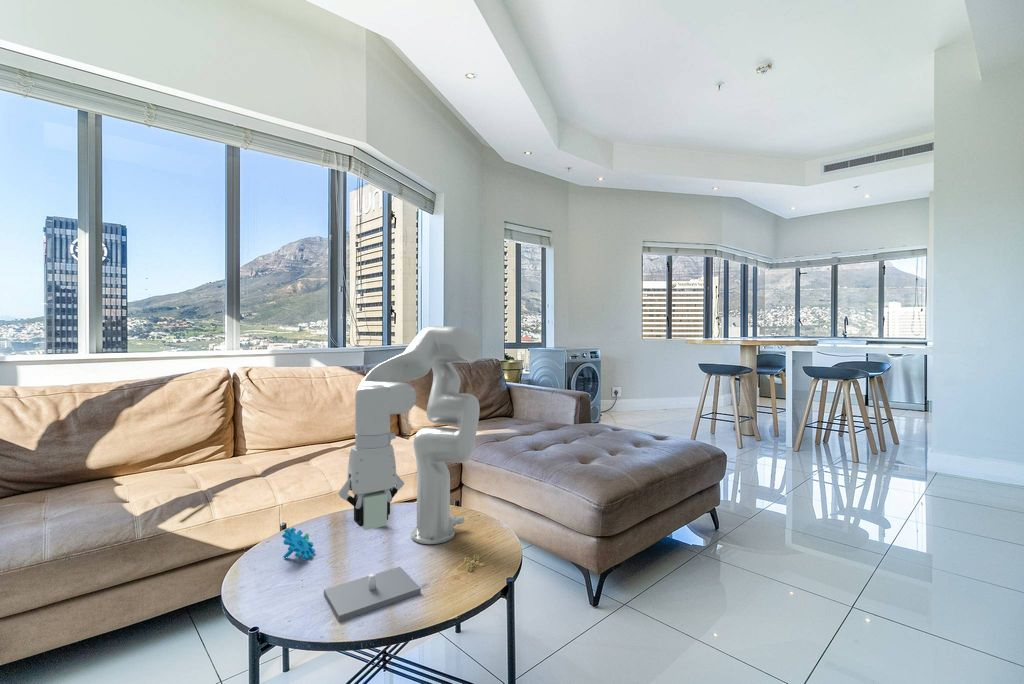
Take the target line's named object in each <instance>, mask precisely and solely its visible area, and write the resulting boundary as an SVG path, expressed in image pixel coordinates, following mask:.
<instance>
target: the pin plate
mask: <svg viewBox="0 0 1024 684" xmlns="http://www.w3.org/2000/svg"><path fill="white" fill-rule="evenodd" d="M421 590H422V589H421V587H420V586H419V585H418V584H417V583H416V581H414V579H413V578H412V577H411V576H410V575H409V574H408V573H407V572H406V571H405V569H403V568H402V567H401V566H397V567H394V568H391V569H386V570H384V571H380V572H377V573H370V574H368V576H365V577H361V578H357V579H353V580H351V581H347V582H344V583H341V584H337V585H334V586H332V587H330V586H329V587H327V588H324V589H323V597H325V599H326V602H327V603H328V604H329V606H330V608H331V610H332V612H333V615H335V617H336V619H337V622H342V621H344V620H345V621H346V620H347V619H351V618H354V617H356V616H359V615H362V614H365V613H368V612H371V611H375V610H376V609H379V608H383V607H385V606H388V605H391V604H394V603H397V602H400V601H403V600H405V598H406V599H408V597H409V598H411V597H414V596H417V595H420V594H421V592H422V591H421ZM419 593H420V594H419ZM416 594H417V595H416ZM413 595H414V596H413Z"/></svg>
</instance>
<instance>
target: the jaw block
mask: <svg viewBox="0 0 1024 684" xmlns="http://www.w3.org/2000/svg"><path fill="white" fill-rule="evenodd" d="M362 508H363V526H360V528H362V529H363V531H368V530H373V529H377V528H382V527H385V526H388V520H387V494H386V493H385V492H383V491H379V492H374V493H369V494H364V497H363V501H362Z"/></svg>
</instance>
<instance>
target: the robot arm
mask: <svg viewBox="0 0 1024 684" xmlns="http://www.w3.org/2000/svg"><path fill="white" fill-rule="evenodd" d="M481 352H482V345H481V342H480V340H479V338H478V337H477V336H476V335H475V334H473V333H472V332H469V331H468V330H466V329H464V328H462V327H458V326H452V325H451V326H447V325H446V326H440V325H439V326H437V325H436V326H432V325H431V326H427V327H424V328H422V329H421V330H420V331H419V332H418V333H417V334H416V335H415V337H414V338H413V340H412V341H411V342H410V343H409V345H408V346H407V347H406V348H405V350H404V351H403V352H402V353H400V354H397V355H395V356H394V357H391V358H389V359H387V360H386V361H383V362H381V363H379V364H377V365H376V366H375V367H373V368H372V369H371V370H370V371H369V372H368V373H367V374H366V376H364V378H363V379H362V380H361V382H360V383H359V385H358V386H357V389H356V391H355V396H354V398H355V411H354V412H355V413H354V416H355V417H354V418H355V419H354V420H355V421H354V423H355V424H354V425H355V426H354V427H355V428H354V430H355V431H354V433H355V434H354V446H352V447H351V448H350V452H349V457H348V464H347V471H346V472H347V474H346V481H345V483H344V485H343V486H342V487H341V488H340V490H339V491H338V492H337V495H338V496H339V497H340V498H341V499H343V500H345V501H346V502H348V503H349V505H351V506H353V521H354V523H356V524H357V525H358V526H359V527H361V526H363V508H362V501H363V497H364V494H369V493H374V492H379V491H383V492H385V493H386V494H387V521H389V516H390V514H391V503H392V501H393V498H394V497H395V496H396V494H398V491H400V490H401V489H402V487H404V485H405V482H404V481H403V479H402V478H401V477H400V476H399V475H398V473H397V465H396V458H395V457H396V456H395V450H394V446H393V444H391V443H392V440H395V439H396V438H397V434H396V432H392V431H391V415H402V414H406V413H408V412H410V411H411V410H412V409H413V408H414V406H415V404H416V401H417V394H416V390H415V388H414V387H413V386H412V385H411V384H409V383H406V382H410V381H414V380H417V379H420V378H422V377H424V376H425V377H426V375H428V374H429V372H430V371H431V369H432V375H433V377H432V378H433V379H432V384H431V389H430V393H429V396H428V397H429V398H428V400H427V401H428V402H427V406H426V417H427V418H426V419H428V421H429V422H430V423H433V424H438V425H446V426H447V425H449V426H458V428H457V427H456V428H455V427H444V426H441V427H440V426H426V427H423V428H421V429H419V430H418V431H416V434H415V435H414V438H413V451H414V456H415V461H416V462H415V463H416V527H415V528H413V529H412V530H411V533H410V535H411V536H410V537H411V539H412V540H413V541H414V542H416V543H419V544H422V545H424V544H425V545H437V544H442V543H446V542H449V541H451V539H453V538H454V537H455V535H456V529H455V528H454V527H456V525H461V524H462V525H463V524H464V523H465V521H466V520H465V517H464V516H459V517H457V516H456V515H452V516H451V506H450V505H451V475H450V471H449V468H448V465H447V464H446V463H459V464H460V463H461V464H464V463H466V462H468V461H470V460H471V458H472V455H473V453H474V448H475V443H476V436H477V432H478V426H479V419H480V410H481V409H480V402H479V399H478V398H477V397H476V396H475V395H474V394H471V393H462V392H461V393H460V388H461V376H460V374H459V372H457V370H456V368H455V367H454V365H453V364H452V363H459V364H461V363H462V364H463V363H465V364H473V363H475V362H476V361H478V359H479V358H480V356H481ZM445 462H446V463H445ZM349 491H351V492H352V494H353V496H352V495H350V494H349Z"/></svg>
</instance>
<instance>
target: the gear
mask: <svg viewBox="0 0 1024 684" xmlns="http://www.w3.org/2000/svg"><path fill="white" fill-rule="evenodd" d="M296 531H297V529H296V528H295V527H291V528H286V529H284V531H283V532H284V533H283V534H282V536H281V537H282V538H283V539H284V540H283V544H284V545H285V546H286V545H287V546H288V548H287V550H288V551H287V552H285V554H284V555H283V556H282V557H283V559H284V558H286V557H287V558H289V557H290V555H292V554H293V552H295V553H294V556H295V557H296V558H297V559H299V558H300V557H301V559H302V560H304V561H307V560H308V559H309V558H310V559H312V558H313V557H314V553H315V551H316V550H315V549H314V548H313V547H314V543H313V542H312V541H309V540H310V534H309V533H305V534H304V535H303V531H302V530H301V529H299V530H298V531H297V532H296ZM311 557H312V558H311ZM287 558H286V559H287Z"/></svg>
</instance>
